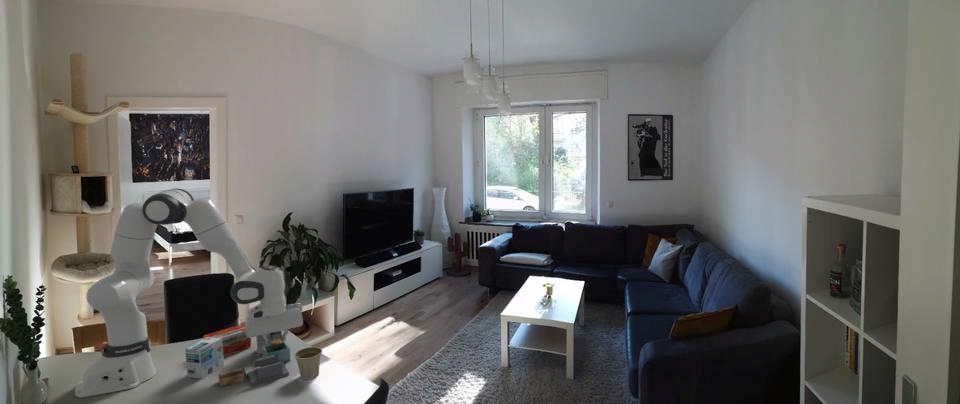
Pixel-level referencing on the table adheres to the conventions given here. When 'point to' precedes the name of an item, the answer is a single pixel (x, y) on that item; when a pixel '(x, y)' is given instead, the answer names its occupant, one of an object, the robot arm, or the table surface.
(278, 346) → the cell
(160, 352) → the table surface
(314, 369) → the flower pot
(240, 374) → the trough
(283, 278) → the robot arm
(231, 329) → the medicine box
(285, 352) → the cup
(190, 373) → the light bulb box
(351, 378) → the table surface
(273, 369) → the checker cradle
